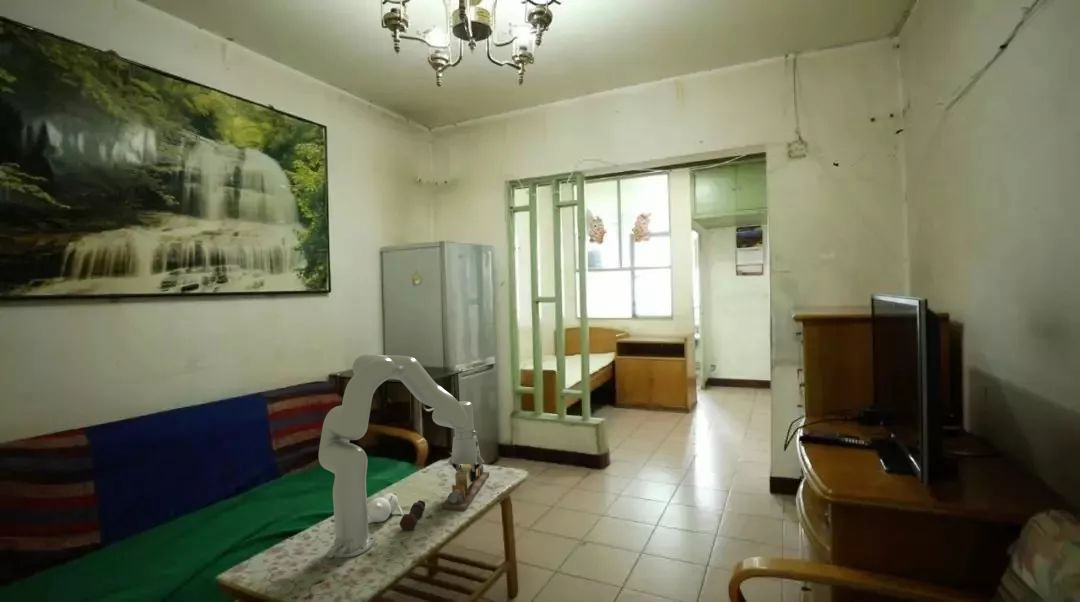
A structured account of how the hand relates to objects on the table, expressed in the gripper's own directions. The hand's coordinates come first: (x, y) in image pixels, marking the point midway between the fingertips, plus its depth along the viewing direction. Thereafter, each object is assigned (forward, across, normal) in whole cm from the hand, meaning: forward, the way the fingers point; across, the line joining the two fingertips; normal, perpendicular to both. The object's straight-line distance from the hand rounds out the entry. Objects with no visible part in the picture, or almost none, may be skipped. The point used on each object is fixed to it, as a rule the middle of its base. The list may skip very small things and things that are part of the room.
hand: (467, 480), depth 175 cm
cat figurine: (+4, +22, +22) cm, 32 cm away
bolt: (+5, +11, +23) cm, 26 cm away
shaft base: (+4, 0, 0) cm, 4 cm away
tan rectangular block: (+1, 0, 0) cm, 1 cm away
